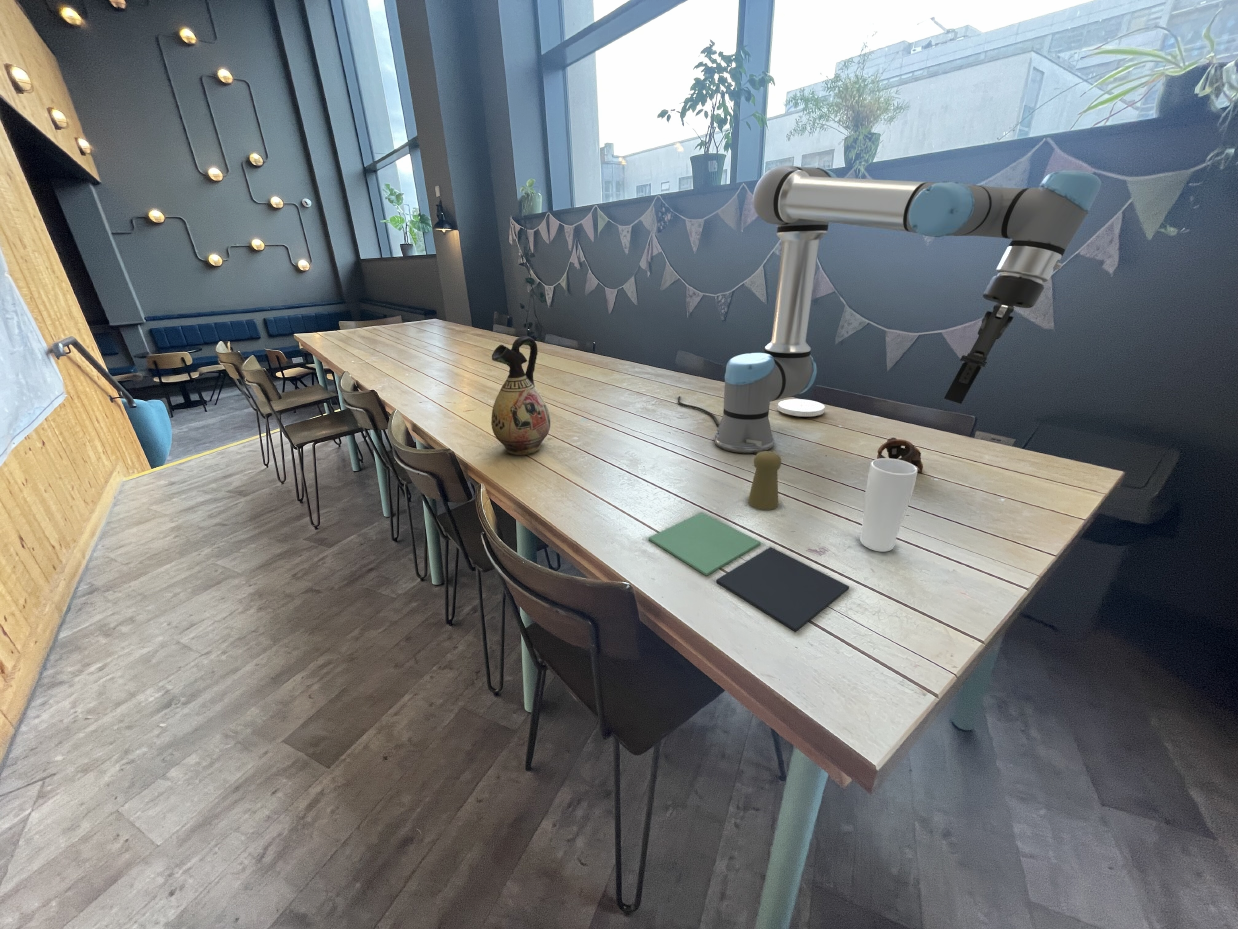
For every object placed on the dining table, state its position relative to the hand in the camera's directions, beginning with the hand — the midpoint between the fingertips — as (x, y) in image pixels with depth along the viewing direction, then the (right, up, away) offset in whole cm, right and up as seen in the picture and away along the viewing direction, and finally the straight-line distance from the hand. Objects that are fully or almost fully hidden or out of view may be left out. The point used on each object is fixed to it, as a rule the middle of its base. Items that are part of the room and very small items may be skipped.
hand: (953, 398), depth 87 cm
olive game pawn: (-32, -20, +10) cm, 39 cm away
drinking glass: (-17, -26, -5) cm, 32 cm away
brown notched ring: (+3, -13, +23) cm, 27 cm away
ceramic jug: (-87, -8, +42) cm, 97 cm away
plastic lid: (-4, +4, +64) cm, 64 cm away
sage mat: (-47, -26, -3) cm, 54 cm away
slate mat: (-37, -31, -15) cm, 50 cm away
